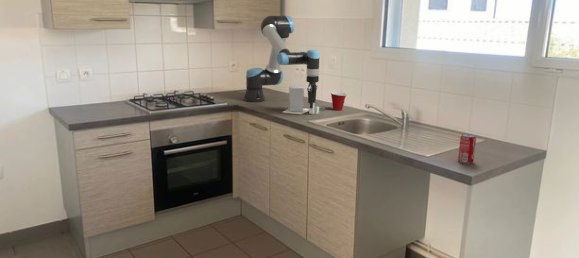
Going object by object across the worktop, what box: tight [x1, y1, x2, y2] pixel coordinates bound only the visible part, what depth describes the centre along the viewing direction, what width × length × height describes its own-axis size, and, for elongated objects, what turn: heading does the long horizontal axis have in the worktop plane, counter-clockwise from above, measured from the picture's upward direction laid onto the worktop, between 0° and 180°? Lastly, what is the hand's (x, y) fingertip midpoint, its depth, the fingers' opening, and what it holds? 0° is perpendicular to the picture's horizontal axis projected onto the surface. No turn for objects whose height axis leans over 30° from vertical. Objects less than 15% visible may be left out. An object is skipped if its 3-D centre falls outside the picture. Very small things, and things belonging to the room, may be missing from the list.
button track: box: [319, 106, 326, 112], centre depth 285 cm, size 14×8×2 cm, turn 160°
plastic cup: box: [330, 91, 347, 112], centre depth 291 cm, size 11×11×12 cm
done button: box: [309, 105, 320, 115], centre depth 281 cm, size 5×5×4 cm
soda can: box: [457, 133, 477, 165], centre depth 188 cm, size 6×6×12 cm
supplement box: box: [288, 85, 305, 111], centre depth 285 cm, size 9×9×15 cm
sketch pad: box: [282, 107, 309, 115], centre depth 287 cm, size 16×13×1 cm
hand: (311, 113), depth 277 cm, fingers closed
